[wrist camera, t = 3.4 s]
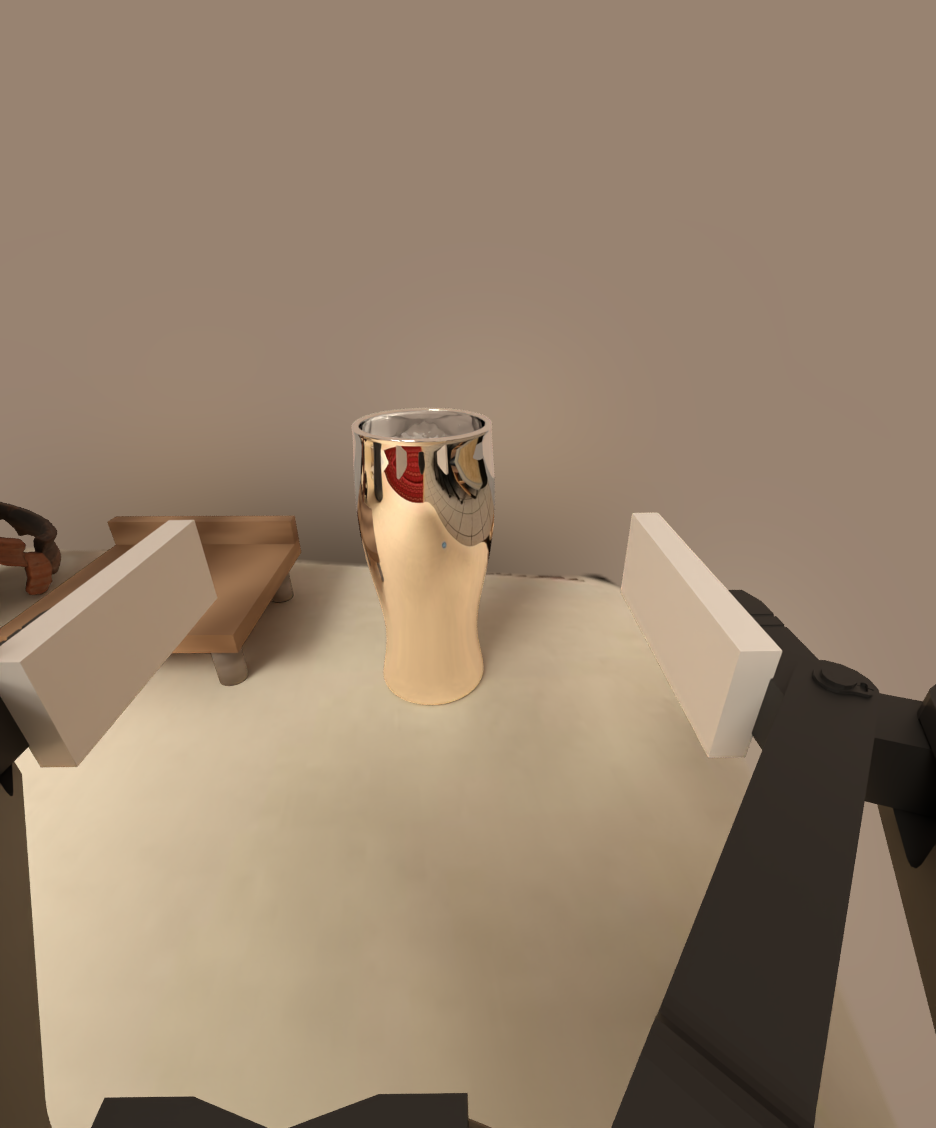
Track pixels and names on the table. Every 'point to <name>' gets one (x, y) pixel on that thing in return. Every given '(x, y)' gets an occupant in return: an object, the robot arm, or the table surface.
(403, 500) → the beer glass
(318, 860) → the table surface
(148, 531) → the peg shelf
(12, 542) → the broken clay pot
